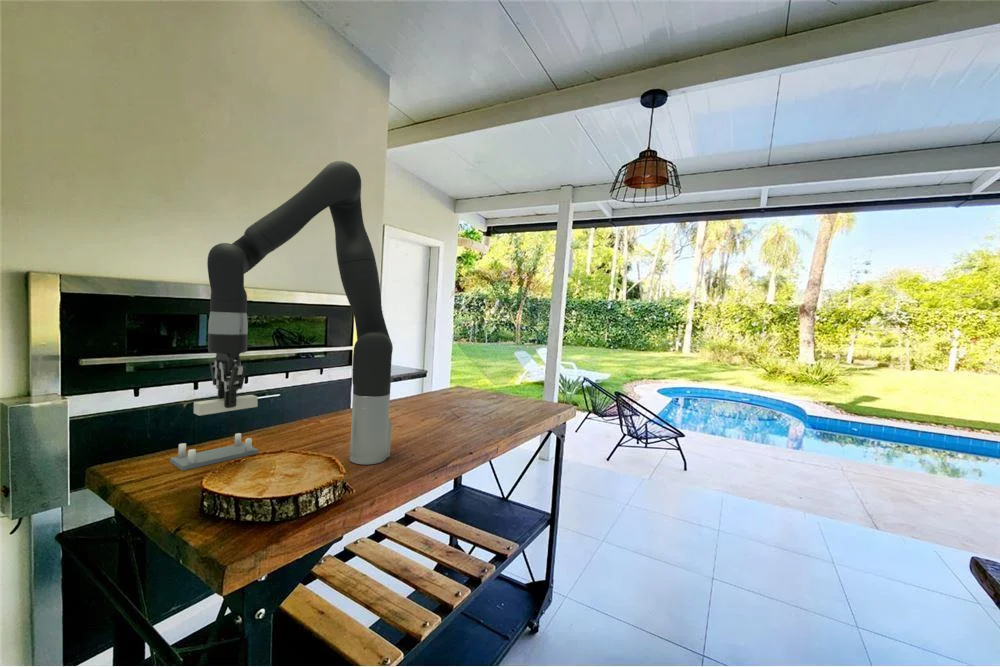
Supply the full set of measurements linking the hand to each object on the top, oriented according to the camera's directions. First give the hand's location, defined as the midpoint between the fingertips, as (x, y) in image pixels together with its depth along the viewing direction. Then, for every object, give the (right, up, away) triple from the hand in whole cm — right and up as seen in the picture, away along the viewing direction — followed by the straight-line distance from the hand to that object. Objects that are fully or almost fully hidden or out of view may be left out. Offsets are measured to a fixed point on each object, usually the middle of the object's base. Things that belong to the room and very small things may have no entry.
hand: (226, 405), depth 93 cm
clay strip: (0, -1, 0) cm, 1 cm away
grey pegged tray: (-6, -14, +5) cm, 16 cm away
